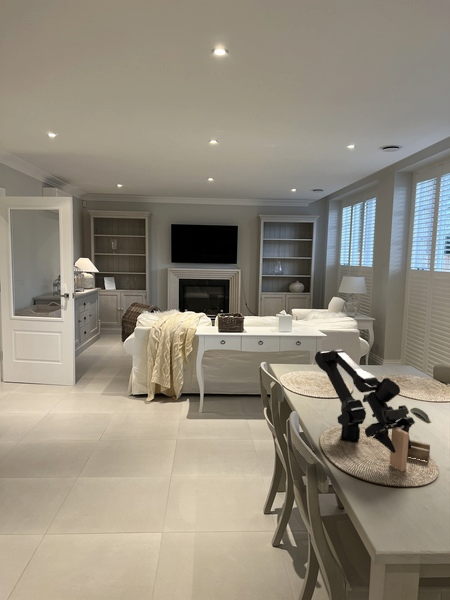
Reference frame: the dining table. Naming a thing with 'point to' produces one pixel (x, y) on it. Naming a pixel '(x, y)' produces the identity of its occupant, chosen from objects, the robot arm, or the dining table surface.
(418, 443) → the tan u-shaped channel
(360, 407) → the robot arm
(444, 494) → the dining table surface
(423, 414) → the ceramic fragment
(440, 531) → the dining table surface
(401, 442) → the clay block
